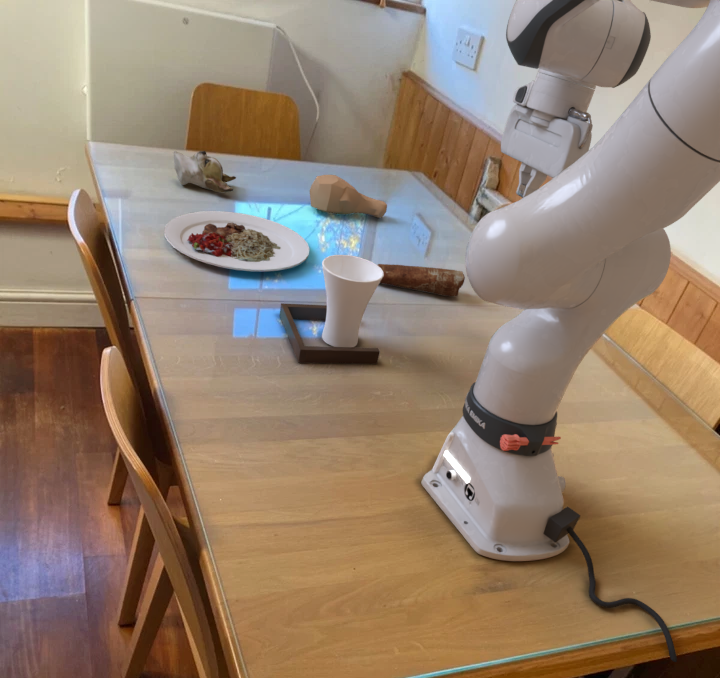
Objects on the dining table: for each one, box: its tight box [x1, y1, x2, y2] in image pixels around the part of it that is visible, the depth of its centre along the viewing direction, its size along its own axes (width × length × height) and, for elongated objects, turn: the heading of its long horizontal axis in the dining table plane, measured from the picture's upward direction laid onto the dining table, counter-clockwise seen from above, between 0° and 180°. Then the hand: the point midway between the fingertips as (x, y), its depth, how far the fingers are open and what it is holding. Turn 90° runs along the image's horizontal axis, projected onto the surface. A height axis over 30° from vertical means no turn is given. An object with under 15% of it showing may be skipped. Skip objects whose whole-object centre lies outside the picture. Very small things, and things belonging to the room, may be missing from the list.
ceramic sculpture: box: [173, 150, 237, 193], centre depth 169 cm, size 11×9×15 cm
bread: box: [377, 263, 466, 297], centre depth 147 cm, size 6×19×6 cm, turn 88°
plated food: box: [164, 210, 310, 272], centre depth 147 cm, size 30×30×3 cm
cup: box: [321, 254, 384, 347], centre depth 121 cm, size 10×10×14 cm
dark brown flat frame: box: [279, 302, 381, 365], centre depth 123 cm, size 16×14×2 cm
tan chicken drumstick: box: [309, 174, 388, 219], centre depth 174 cm, size 11×20×9 cm, turn 104°
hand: (523, 197), depth 112 cm, fingers closed
